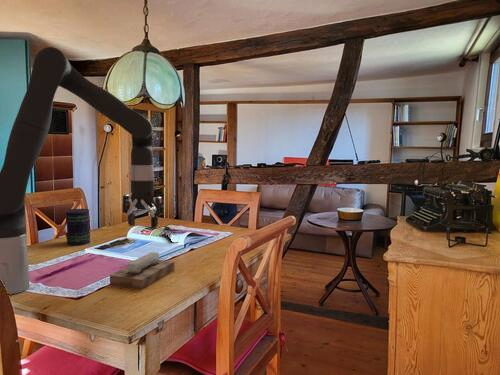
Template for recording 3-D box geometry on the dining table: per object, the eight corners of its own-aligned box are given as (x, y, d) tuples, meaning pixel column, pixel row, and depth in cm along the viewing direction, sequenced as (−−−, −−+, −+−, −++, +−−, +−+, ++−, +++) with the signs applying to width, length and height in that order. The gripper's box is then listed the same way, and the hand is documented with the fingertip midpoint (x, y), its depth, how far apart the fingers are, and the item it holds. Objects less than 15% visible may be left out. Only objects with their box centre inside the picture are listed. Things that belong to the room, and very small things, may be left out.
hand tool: (179, 243, 179) (179, 233, 178) (170, 243, 177) (170, 233, 177) (171, 234, 196) (171, 225, 196) (163, 234, 195) (163, 225, 194)
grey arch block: (135, 284, 126) (135, 264, 125) (127, 282, 127) (127, 263, 126) (159, 270, 139) (158, 253, 138) (151, 269, 140) (151, 252, 139)
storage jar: (94, 243, 176) (92, 210, 174) (71, 247, 169) (70, 213, 167) (85, 239, 183) (84, 207, 181) (63, 242, 176) (61, 210, 174)
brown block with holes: (142, 289, 121) (142, 279, 121) (110, 284, 125) (109, 275, 125) (174, 269, 140) (174, 261, 140) (145, 266, 144) (145, 258, 144)
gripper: (116, 178, 128) (117, 227, 129) (154, 180, 123) (155, 230, 125) (130, 176, 135) (131, 223, 136) (167, 178, 130) (167, 226, 132)
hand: (142, 226), depth 131 cm, fingers open, 8 cm apart
